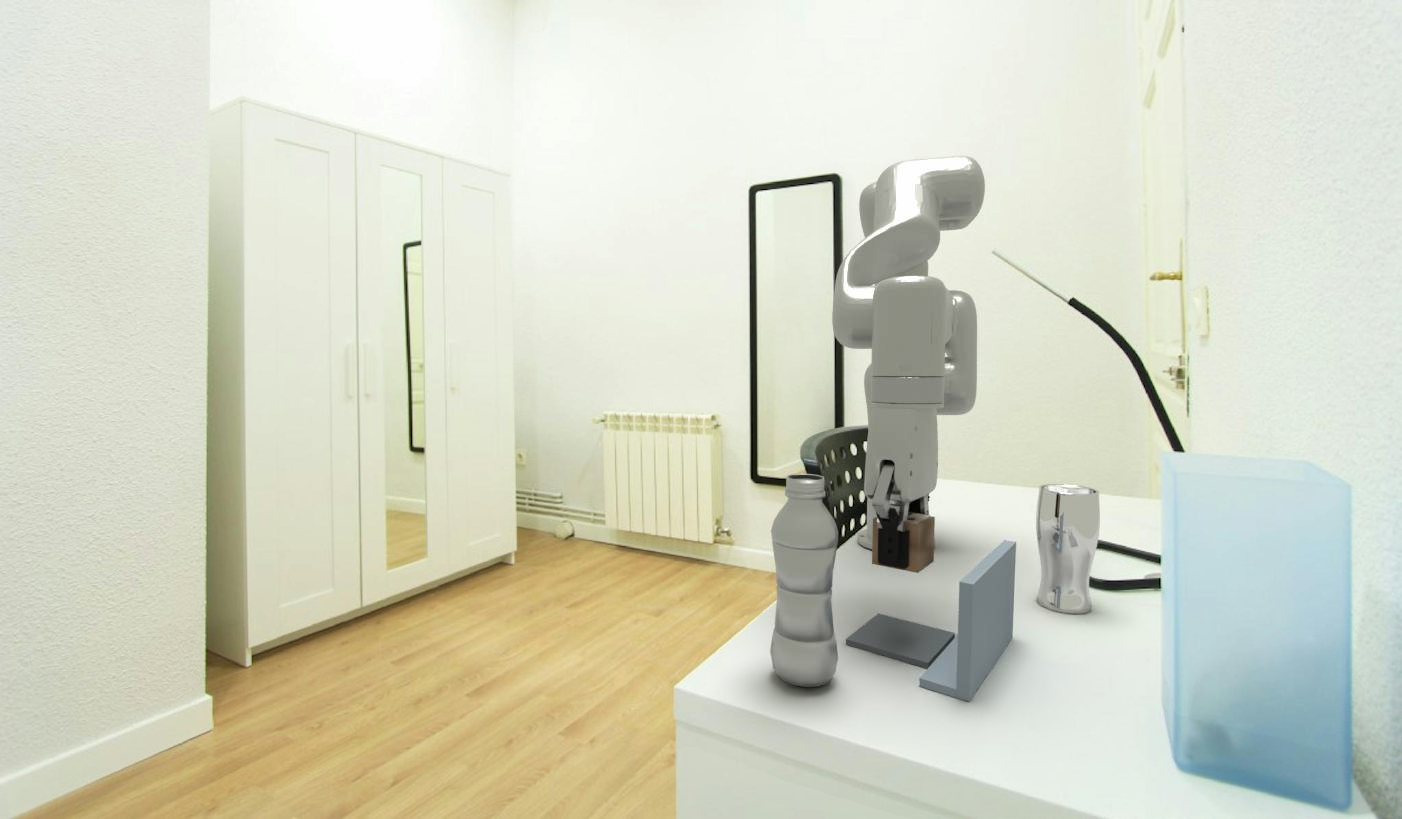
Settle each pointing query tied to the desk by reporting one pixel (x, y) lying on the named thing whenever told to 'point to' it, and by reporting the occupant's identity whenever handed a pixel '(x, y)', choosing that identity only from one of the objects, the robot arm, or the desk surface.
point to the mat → (901, 640)
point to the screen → (978, 626)
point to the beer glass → (1066, 545)
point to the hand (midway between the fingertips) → (902, 557)
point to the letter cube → (913, 541)
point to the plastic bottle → (804, 584)
